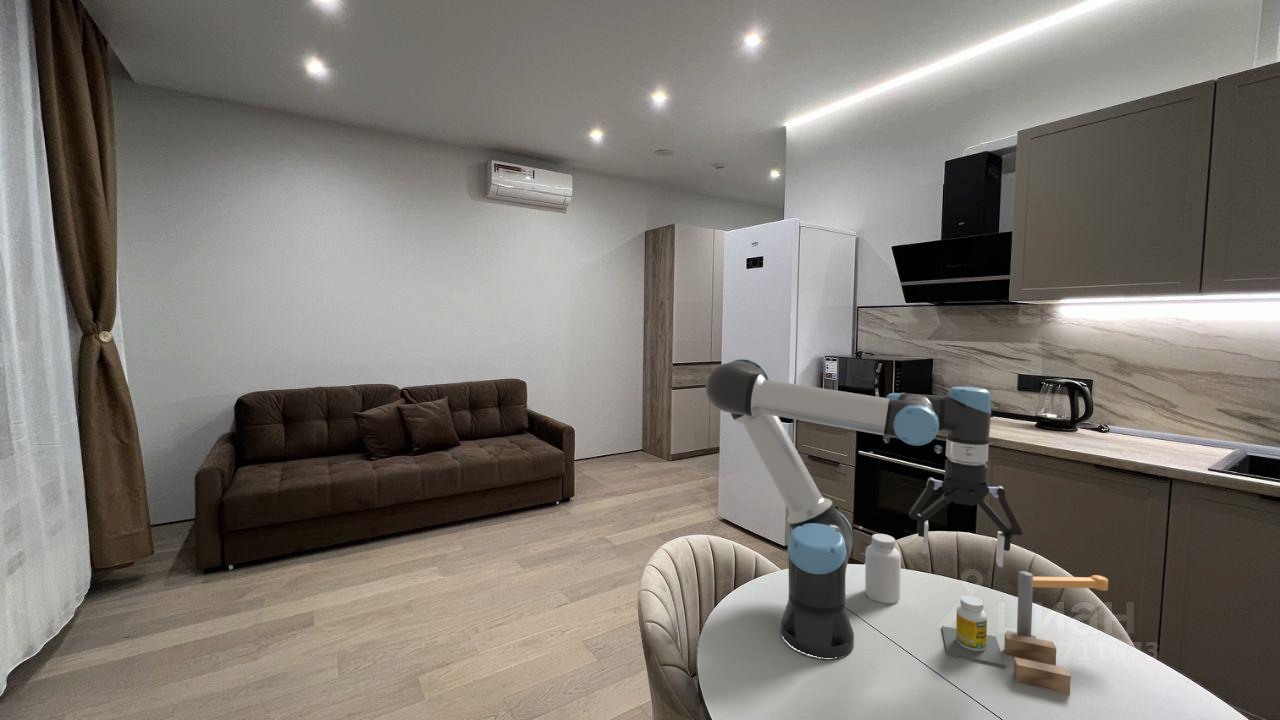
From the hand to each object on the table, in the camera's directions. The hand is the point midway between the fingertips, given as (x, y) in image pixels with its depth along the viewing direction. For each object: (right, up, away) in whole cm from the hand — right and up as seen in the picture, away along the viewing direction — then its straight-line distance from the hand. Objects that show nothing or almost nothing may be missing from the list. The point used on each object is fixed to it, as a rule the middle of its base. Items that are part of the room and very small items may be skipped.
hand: (961, 557), depth 110 cm
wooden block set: (+10, -18, -7) cm, 22 cm away
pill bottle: (-8, -17, +18) cm, 26 cm away
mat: (+1, -18, -2) cm, 18 cm away
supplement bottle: (+1, -18, -2) cm, 18 cm away
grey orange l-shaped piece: (+20, -16, -2) cm, 26 cm away
